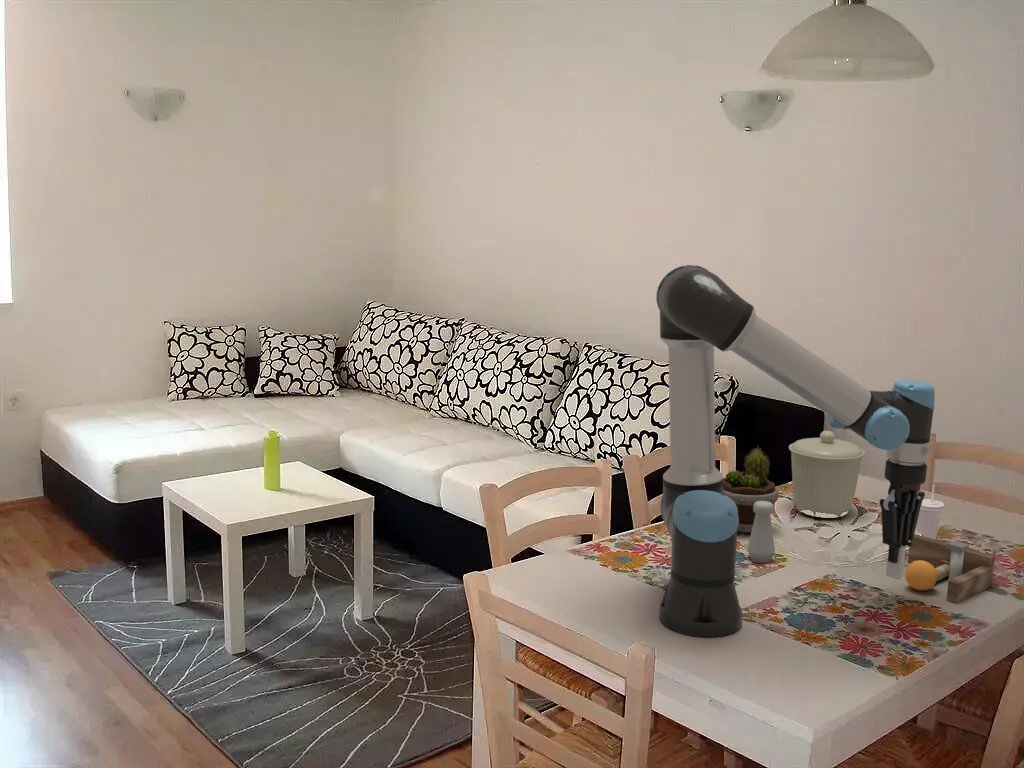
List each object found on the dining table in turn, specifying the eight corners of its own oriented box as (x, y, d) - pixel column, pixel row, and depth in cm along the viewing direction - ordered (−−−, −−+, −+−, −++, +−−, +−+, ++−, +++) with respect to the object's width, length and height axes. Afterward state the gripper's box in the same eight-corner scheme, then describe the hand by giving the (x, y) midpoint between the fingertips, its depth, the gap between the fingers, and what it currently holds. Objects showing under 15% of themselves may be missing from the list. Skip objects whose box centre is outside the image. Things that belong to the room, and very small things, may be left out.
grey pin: (957, 589, 213) (961, 547, 211) (943, 584, 215) (947, 543, 213) (965, 585, 214) (969, 544, 213) (950, 581, 217) (954, 540, 215)
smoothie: (943, 549, 236) (949, 489, 234) (914, 547, 237) (919, 487, 235) (937, 539, 243) (942, 481, 240) (908, 538, 244) (913, 479, 241)
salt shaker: (772, 556, 230) (775, 499, 228) (776, 565, 225) (779, 506, 222) (745, 554, 231) (748, 497, 229) (748, 563, 225) (751, 505, 223)
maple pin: (934, 574, 213) (956, 563, 218) (920, 570, 215) (942, 559, 221) (933, 588, 214) (955, 577, 219) (919, 584, 216) (941, 573, 221)
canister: (822, 528, 250) (828, 442, 246) (769, 508, 265) (774, 427, 261) (876, 518, 258) (882, 434, 254) (822, 499, 274) (827, 420, 270)
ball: (946, 568, 211) (936, 596, 211) (920, 557, 215) (910, 584, 216) (932, 565, 207) (921, 594, 207) (905, 554, 212) (895, 582, 212)
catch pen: (956, 603, 205) (959, 574, 204) (873, 577, 219) (875, 549, 217) (994, 584, 215) (997, 556, 214) (912, 560, 229) (915, 534, 228)
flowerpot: (746, 544, 238) (751, 458, 234) (699, 526, 250) (703, 444, 247) (790, 533, 246) (795, 450, 242) (742, 516, 258) (747, 437, 255)
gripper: (907, 470, 195) (894, 590, 200) (942, 460, 204) (928, 575, 208) (870, 461, 201) (858, 578, 205) (906, 452, 209) (894, 564, 214)
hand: (894, 576), depth 207 cm, fingers closed
